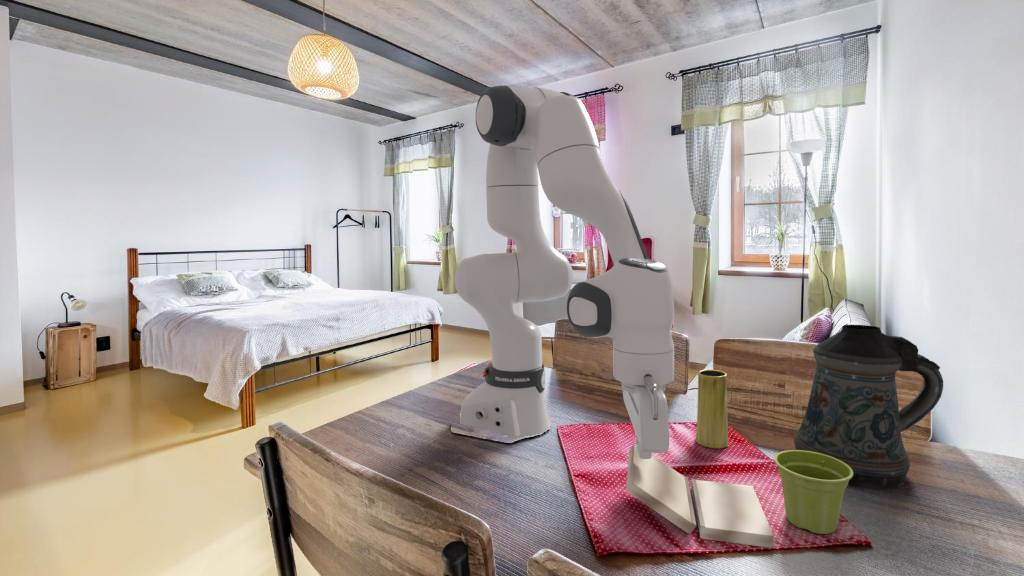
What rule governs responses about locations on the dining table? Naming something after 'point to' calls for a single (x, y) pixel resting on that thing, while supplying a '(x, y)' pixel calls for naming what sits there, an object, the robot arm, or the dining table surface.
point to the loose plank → (661, 489)
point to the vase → (712, 409)
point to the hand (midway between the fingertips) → (643, 454)
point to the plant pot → (812, 488)
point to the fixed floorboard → (730, 514)
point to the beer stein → (866, 404)
